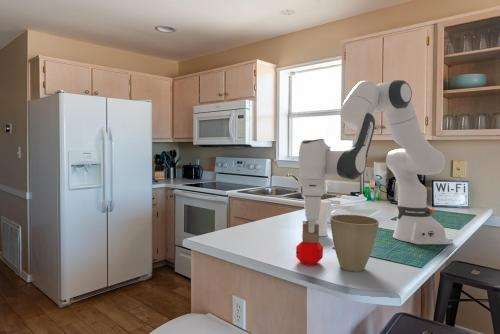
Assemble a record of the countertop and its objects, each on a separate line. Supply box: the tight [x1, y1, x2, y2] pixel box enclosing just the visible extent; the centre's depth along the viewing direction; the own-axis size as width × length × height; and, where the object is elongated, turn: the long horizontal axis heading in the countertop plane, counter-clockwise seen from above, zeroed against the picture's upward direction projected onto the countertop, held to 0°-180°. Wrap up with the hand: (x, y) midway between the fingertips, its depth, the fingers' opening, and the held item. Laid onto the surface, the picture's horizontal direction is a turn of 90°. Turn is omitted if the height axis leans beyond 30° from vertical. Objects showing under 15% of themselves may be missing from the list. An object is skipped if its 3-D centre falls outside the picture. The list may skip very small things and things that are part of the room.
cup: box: [317, 199, 333, 237], centre depth 154 cm, size 11×11×15 cm
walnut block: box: [301, 220, 320, 243], centre depth 115 cm, size 5×5×6 cm
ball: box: [295, 240, 324, 266], centre depth 116 cm, size 8×8×8 cm
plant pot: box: [329, 214, 380, 273], centre depth 111 cm, size 15×15×16 cm
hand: (310, 228), depth 115 cm, fingers open, 8 cm apart
